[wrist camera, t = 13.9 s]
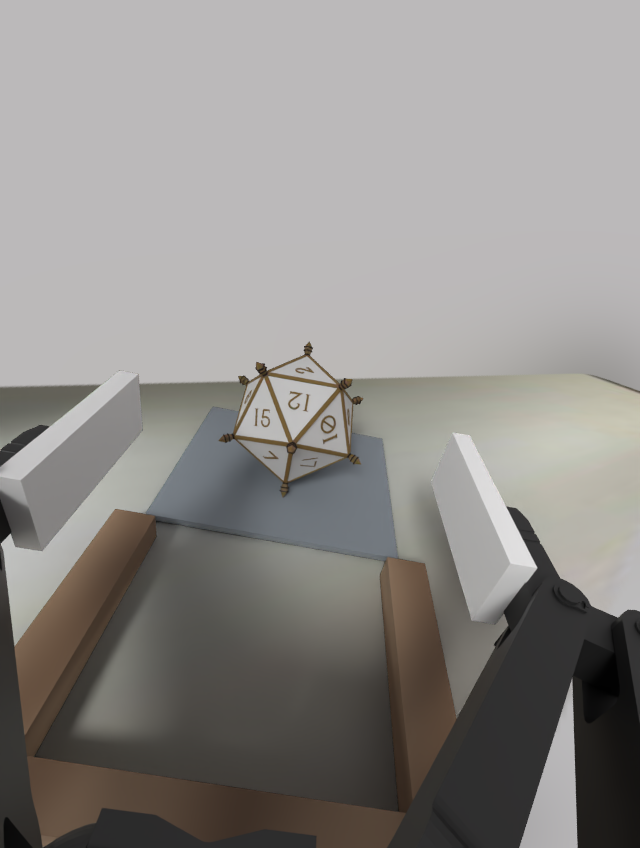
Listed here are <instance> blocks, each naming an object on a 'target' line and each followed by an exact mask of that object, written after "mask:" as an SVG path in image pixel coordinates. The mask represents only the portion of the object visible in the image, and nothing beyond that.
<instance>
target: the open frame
mask: <svg viewBox="0 0 640 848" xmlns="http://www.w3.org/2000/svg"><path fill="white" fill-rule="evenodd" d="M156 536H157V535H156V520H155V516H153V515H147V514H142V513H136V512H130V511H125V510H119V509H115V510H114V512H113V513H112V514H111V516H110V517H109V518H108V520H107V521H106V522H105V524H104V525H103V527H102V528H101V529H100V531H99V532H98V533H97V535H96V536H95V538H94V539H93V540H92V542H91V543H90V544H89V546H88V547H87V548H86V550H85V551H84V553H83V554H82V555H81V557H80V558H79V559H78V561H77V562H76V563H75V565H74V566H73V568H72V569H71V570H70V572H69V573H68V574H67V576H66V577H65V579H64V580H63V581H62V583H61V584H60V585H59V587H58V588H57V589H56V591H55V592H54V594H53V595H52V596H51V598H50V599H49V600H48V602H47V603H46V605H45V606H44V607H43V609H42V610H41V611H40V613H39V614H38V615H37V617H36V618H35V620H34V621H33V622H32V624H31V625H30V626H29V628H28V629H27V630H26V632H25V633H24V635H23V636H22V637H21V639H20V640H19V641H18V643H17V644H16V646H15V647H14V648H15V657H16V666H17V674H18V683H19V691H20V700H21V709H22V717H23V726H24V734H25V743H26V752H27V760H28V769H29V777H30V786H31V793H32V798H33V803H34V807H35V810H36V814H37V817H38V822H39V827H40V832H41V839H42V846H46V845H48V844H49V843H51V842H52V841H54V840H55V839H57V838H59V837H61V836H62V835H64V834H66V833H68V832H70V831H72V830H74V829H77V828H80V827H82V826H85V825H88V824H92V823H96V822H97V819H98V817H99V814H100V812H101V809H102V808H108V809H115V810H123V811H131V812H138V813H146V814H154V815H157V816H159V817H161V818H162V819H164V820H166V821H168V822H169V823H171V824H173V825H175V826H176V827H178V828H180V829H182V830H184V831H185V832H187V833H189V834H191V835H192V836H194V837H196V838H198V839H199V840H201V841H204V842H214V841H218V840H222V839H226V838H230V837H235V836H239V835H243V834H247V833H251V832H255V831H259V830H263V829H268V830H276V831H284V832H291V833H299V834H307V835H314V836H317V838H316V848H387V847H388V845H389V843H390V842H391V840H392V838H393V837H394V835H395V833H396V831H397V829H398V827H399V825H400V824H401V822H402V820H403V818H404V816H405V814H406V812H407V811H408V809H409V807H410V805H411V803H412V801H413V799H414V798H415V796H416V794H417V792H418V790H419V788H420V786H421V785H422V783H423V781H424V779H425V777H426V775H427V773H428V772H429V770H430V768H431V766H432V764H433V762H434V760H435V759H436V757H437V755H438V753H439V751H440V749H441V747H442V746H443V744H444V742H445V740H446V738H447V736H448V734H449V733H450V731H451V729H452V727H453V725H454V723H455V721H456V720H457V719H456V714H455V709H454V704H453V699H452V694H451V689H450V684H449V680H448V675H447V670H446V665H445V660H444V655H443V650H442V645H441V640H440V635H439V630H438V625H437V620H436V615H435V610H434V606H433V601H432V596H431V591H430V586H429V581H428V576H427V571H426V566H425V564H424V563H418V562H412V561H407V560H401V559H395V558H390V557H387V559H386V562H385V564H384V566H383V569H382V571H381V574H380V584H381V596H382V609H383V621H384V634H385V647H386V659H387V672H388V684H389V697H390V709H391V722H392V735H393V747H394V760H395V772H396V785H397V798H398V810H399V812H396V811H389V810H383V809H376V808H369V807H363V806H356V805H349V804H343V803H336V802H329V801H323V800H316V799H310V798H303V797H296V796H290V795H283V794H276V793H270V792H263V791H256V790H250V789H243V788H236V787H230V786H223V785H217V784H210V783H203V782H197V781H190V780H183V779H177V778H170V777H163V776H157V775H150V774H144V773H137V772H130V771H124V770H117V769H110V768H104V767H97V766H90V765H84V764H77V763H70V762H64V761H57V760H51V759H44V758H37V757H34V756H35V754H36V752H37V751H38V749H39V747H40V745H41V743H42V742H43V740H44V738H45V736H46V734H47V733H48V731H49V729H50V727H51V725H52V724H53V722H54V720H55V718H56V716H57V715H58V713H59V711H60V709H61V707H62V706H63V704H64V702H65V700H66V698H67V697H68V695H69V693H70V691H71V689H72V688H73V686H74V684H75V682H76V680H77V679H78V677H79V675H80V673H81V671H82V670H83V668H84V666H85V664H86V662H87V661H88V659H89V657H90V655H91V653H92V652H93V650H94V648H95V646H96V644H97V643H98V641H99V639H100V637H101V635H102V634H103V632H104V630H105V628H106V626H107V625H108V623H109V621H110V619H111V617H112V615H113V614H114V612H115V610H116V608H117V606H118V605H119V603H120V601H121V599H122V597H123V596H124V594H125V592H126V590H127V588H128V587H129V585H130V583H131V581H132V579H133V578H134V576H135V574H136V572H137V570H138V569H139V567H140V565H141V563H142V561H143V560H144V558H145V556H146V554H147V552H148V551H149V549H150V547H151V545H152V543H153V542H154V540H155V538H156Z"/></svg>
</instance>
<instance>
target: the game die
mask: <svg viewBox="0 0 640 848" xmlns="http://www.w3.org/2000/svg"><path fill="white" fill-rule="evenodd" d="M304 347H305V350H304V351H305V354H304V355H303V356H301V357H299V358H296V359H293V360H291V361H289V362H286V363H284V364H282V365H279V366H277V367H275V368H272V369H270V370H268V371H267V370H266V368H267V367H265V364H261V363H258V362H256V370H257V371H258V372H259V373H260V375H259V376H257V377H255V378H254V379H252V380H251V381H249V380H248V379H247V378H246V377H245V376H238V377H239V380H240V383H242V384H243V385H246V389H245V393H244V396H243V399H242V403H241V406H240V410H239V413H238V417H237V420H236V424H235V427H234V431H233V433H232V434H228V433H227V434H226V435H224V434H223V436H222V437H221V438H220V439H219V440H218V441H220V442H225V443H227V442H231V440H233V439H235V440H236V441H237V442H238V443H239V444H240V445H241V446H242V447H244V448H245V449H246V450H247V451H248V452H249V453H250V454H251V455H253V456H254V457H255V458H256V459H257V460H258V461H259V462H261V463H262V464H263V465H264V466H265V467H266V468H267V469H268V470H270V471H271V472H272V473H273V474H274V475H275V476H276V477H277V478H279V479H280V480H281V481H282V482H283V484H282V486H280V487H281V489H280V490H279V491H280V492H281V494H282V497H284V496H285V495H286V493H287V492H289V491H288V488H289V487H288V483H290V482H292V481H294V480H297V479H299V478H301V477H304V476H306V475H308V474H311V473H313V472H315V471H318V470H320V469H322V468H325V467H327V466H329V465H332V464H334V463H336V462H339V461H341V460H343V459H346V458H348V459H349V460H350V462H352V463H353V464H359V465H361V463H360V460H359V457H357V456H356V455H353V454H351V453H350V452H351V435H352V417H353V404H356V405H357V404H360V403H361V401H362V400H363V399H364V398H361V397H359V396H357V397H354V398H353V399H351V397H350V396H349V395H348V393H347V392H346V391H345V389H346V388H348V387H350V386H351V382H352V379H346V378H344V380H343V381H341V383H340V384H339V383H338V382H337V381H336V380H335V379H334V378H333V377H332V376H331V375H330V374H329V373H328V372H327V371H325V370H324V369H323V368H322V367H321V366H320V365H319V364H318V363H317V362H316V361H314V359H313V358H312V357H311V356H310V353H311V352H312V349H313V348H312V346H311V344H310V342H309V343H308V344H307V345H306V346H304Z"/></svg>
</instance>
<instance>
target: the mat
mask: <svg viewBox="0 0 640 848" xmlns="http://www.w3.org/2000/svg"><path fill="white" fill-rule="evenodd" d="M238 413H239V411H234V410H228V409H223V408H218V407H212V409H211V410H210V412H209V413H208V415H207V417H206V418H205V420H204V421H203V423H202V425H201V426H200V428H199V429H198V431H197V433H196V434H195V436H194V437H193V439H192V441H191V442H190V444H189V445H188V447H187V449H186V450H185V452H184V453H183V455H182V457H181V458H180V460H179V461H178V463H177V464H176V466H175V468H174V469H173V471H172V472H171V474H170V476H169V477H168V479H167V480H166V482H165V484H164V485H163V487H162V488H161V490H160V492H159V493H158V495H157V496H156V498H155V500H154V501H153V503H152V504H151V506H150V508H149V509H148V511H147V512H146V514H147V515H153V516H155V520H156V521H161V522H167V523H172V524H178V525H184V526H189V527H195V528H201V529H206V530H212V531H218V532H223V533H229V534H235V535H240V536H246V537H252V538H257V539H263V540H268V541H274V542H280V543H285V544H291V545H297V546H302V547H308V548H314V549H319V550H325V551H331V552H336V553H342V554H348V555H353V556H359V557H365V558H370V559H376V560H382V561H386V559H387V557H390V558H395V559H398V554H397V546H396V539H395V531H394V524H393V516H392V509H391V501H390V494H389V486H388V479H387V471H386V464H385V456H384V448H383V441H382V439H381V438H376V437H371V436H365V435H360V434H355V433H352V435H351V452H350V453H351V454H353V455H356V456H357V457H359V460H360V463H361V465H359V464H353V463H352V462H350V460H349V459H348V458H346V459H343V460H341V461H339V462H336V463H334V464H332V465H329V466H327V467H325V468H322V469H320V470H318V471H315V472H313V473H311V474H308V475H306V476H304V477H301V478H299V479H297V480H294V481H292V482H290V483H288V487H289V488H288V491H289V492H287V493H286V495H285V496H284V497H282V494H281V492H280V491H279V490H280V489H281V487H280V486H282V484H283V482H282V481H281V480H280V479H279V478H277V477H276V476H275V475H274V474H273V473H272V472H271V471H270V470H268V469H267V468H266V467H265V466H264V465H263V464H262V463H261V462H259V461H258V460H257V459H256V458H255V457H254V456H253V455H251V454H250V453H249V452H248V451H247V450H246V449H245V448H244V447H242V446H241V445H240V444H239V443H238V442H237V441H236V440H235V439H233V440H231V442H227V443H225V442H220V441H218V440H219V439H220V438H221V437H222V436H223V434H224V435H226V434H227V433H228V434H232V433H233V431H234V427H235V424H236V420H237V417H238Z"/></svg>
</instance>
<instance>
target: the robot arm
mask: <svg viewBox="0 0 640 848" xmlns="http://www.w3.org/2000/svg"><path fill="white" fill-rule="evenodd" d="M142 431H143V426H142V412H141V399H140V386H139V374H136V373H131V372H126V371H118V372H117V373H116V374H114V375H113V376H112V377H111V378H109V379H108V380H107V381H106V382H105V383H103V384H102V385H101V386H100V387H98V388H97V389H96V390H95V391H93V392H92V393H91V394H90V395H88V396H87V397H86V398H85V399H83V400H82V401H81V402H80V403H79V404H77V405H76V406H75V407H74V408H72V409H71V410H70V411H69V412H67V413H66V414H65V415H64V416H62V417H61V418H60V419H59V420H58V421H56V422H55V423H54V424H53V425H51V426H50V427H49V426H44V425H39V426H37V427H35V428H32V429H30V430H27V431H25V432H23V433H22V434H20V435H19V436H18V437H16V438H15V439H14V440H13V441H11V444H7V445H6V446H5V447H3V448H2V449H1V451H0V848H316V838H317V836H314V835H307V834H299V833H291V832H284V831H276V830H268V829H263V830H259V831H255V832H251V833H247V834H243V835H239V836H235V837H230V838H226V839H222V840H218V841H214V842H204V841H201V840H199V839H198V838H196V837H194V836H192V835H191V834H189V833H187V832H185V831H184V830H182V829H180V828H178V827H176V826H175V825H173V824H171V823H169V822H168V821H166V820H164V819H162V818H161V817H159V816H157V815H154V814H146V813H138V812H131V811H123V810H115V809H108V808H102V809H101V812H100V814H99V817H98V819H97V822H96V823H92V824H88V825H85V826H82V827H80V828H77V829H74V830H72V831H70V832H68V833H66V834H64V835H62V836H61V837H59V838H57V839H55V840H54V841H52V842H51V843H49V844H48V845H46V846H45V847H43V846H42V839H41V832H40V827H39V822H38V817H37V814H36V810H35V807H34V803H33V798H32V793H31V786H30V777H29V769H28V760H27V752H26V743H25V734H24V726H23V717H22V709H21V700H20V691H19V683H18V674H17V666H16V657H15V648H14V640H13V631H12V623H11V614H10V605H9V597H8V588H7V580H6V571H5V562H4V554H3V549H2V547H1V543H2V542H3V541H4V540H5V539H6V538H7V536H8V535H9V534H10V533H11V536H12V538H13V541H14V544H15V547H19V548H26V549H32V550H38V551H43V549H44V548H45V547H46V546H47V545H48V543H49V542H50V541H51V540H52V539H53V537H54V536H55V535H56V534H57V533H58V531H59V530H60V529H61V528H62V527H63V525H64V524H65V523H66V522H67V521H68V519H69V518H70V517H71V516H72V515H73V513H74V512H75V511H76V510H77V509H78V507H79V506H80V505H81V504H82V503H83V501H84V500H85V499H86V498H87V497H88V495H89V494H90V493H91V492H92V491H93V489H94V488H95V487H96V486H97V485H98V483H99V482H100V481H101V480H102V479H103V477H104V476H105V475H106V474H107V473H108V471H109V470H110V469H111V468H112V467H113V465H114V464H115V463H116V462H117V461H118V459H119V458H120V457H121V456H122V455H123V453H124V452H125V451H126V450H127V449H128V447H129V446H130V445H131V444H132V443H133V441H134V440H135V439H136V438H137V437H138V435H139V434H140V433H141V432H142ZM431 484H432V488H433V491H434V494H435V498H436V501H437V505H438V508H439V511H440V515H441V518H442V522H443V525H444V528H445V532H446V535H447V538H448V542H449V545H450V549H451V552H452V555H453V559H454V562H455V566H456V569H457V572H458V576H459V579H460V583H461V586H462V589H463V593H464V596H465V600H466V603H467V606H468V610H469V613H470V616H471V620H472V621H477V622H483V623H490V624H496V623H497V622H498V620H499V619H500V618H501V616H502V615H503V614H505V617H506V620H507V622H508V625H509V626H508V627H507V628H506V629H505V631H504V632H503V633H502V635H501V636H500V637H499V638H498V640H497V641H496V642H495V644H494V646H496V647H495V649H494V651H493V653H492V655H491V656H490V658H489V660H488V662H487V664H486V666H485V668H484V669H483V671H482V673H481V675H480V677H479V679H478V681H477V682H476V684H475V686H474V688H473V690H472V692H471V694H470V695H469V697H468V699H467V701H466V703H465V705H464V707H463V708H462V710H461V712H460V714H459V716H458V718H457V720H456V721H455V723H454V725H453V727H452V729H451V731H450V733H449V734H448V736H447V738H446V740H445V742H444V744H443V746H442V747H441V749H440V751H439V753H438V755H437V757H436V759H435V760H434V762H433V764H432V766H431V768H430V770H429V772H428V773H427V775H426V777H425V779H424V781H423V783H422V785H421V786H420V788H419V790H418V792H417V794H416V796H415V798H414V799H413V801H412V803H411V805H410V807H409V809H408V811H407V812H406V814H405V816H404V818H403V820H402V822H401V824H400V825H399V827H398V829H397V831H396V833H395V835H394V837H393V838H392V840H391V842H390V843H389V845H388V847H387V848H519V846H520V843H521V840H522V837H523V833H524V830H525V827H526V824H527V820H528V817H529V814H530V811H531V808H532V805H533V801H534V798H535V795H536V792H537V788H538V785H539V782H540V779H541V775H542V773H543V769H544V766H545V763H546V760H547V757H548V753H549V750H550V747H551V744H552V741H553V737H554V734H555V731H556V728H557V725H558V721H559V718H560V715H561V712H562V709H563V705H564V702H565V699H566V696H567V693H568V689H569V686H570V683H571V680H573V712H574V743H575V775H576V803H577V804H576V807H577V839H578V848H640V612H639V611H637V610H627V611H625V612H624V613H623V614H622V615H621V616H620V617H619V618H617V617H615V616H613V615H610V614H608V613H606V612H603V611H601V610H599V609H596V608H594V607H592V606H591V605H590V603H589V601H588V599H587V598H586V597H585V595H584V594H583V593H582V592H581V591H580V590H579V589H578V588H576V587H575V586H574V585H573V584H571V583H569V582H567V581H565V580H563V579H560V577H559V575H558V573H557V572H556V570H555V568H554V566H553V564H552V563H551V561H550V559H549V557H548V555H547V554H546V552H545V550H544V548H543V546H542V545H541V544H540V541H539V539H538V537H537V535H536V534H534V530H533V528H532V526H531V525H530V523H529V521H528V520H527V519H526V518H525V517H524V515H523V514H522V513H521V512H520V511H519V510H518V509H517V508H511V507H506V505H505V503H504V501H503V500H502V498H501V496H500V494H499V492H498V490H497V488H496V486H495V484H494V482H493V480H492V478H491V476H490V474H489V472H488V470H487V468H486V466H485V464H484V462H483V460H482V458H481V456H480V454H479V452H478V450H477V448H476V446H475V444H474V442H473V441H472V439H471V437H470V435H464V434H459V433H454V432H452V434H451V437H450V439H449V441H448V444H447V446H446V448H445V450H444V453H443V455H442V457H441V460H440V462H439V464H438V466H437V469H436V471H435V473H434V476H433V478H432V480H431Z"/></svg>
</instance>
